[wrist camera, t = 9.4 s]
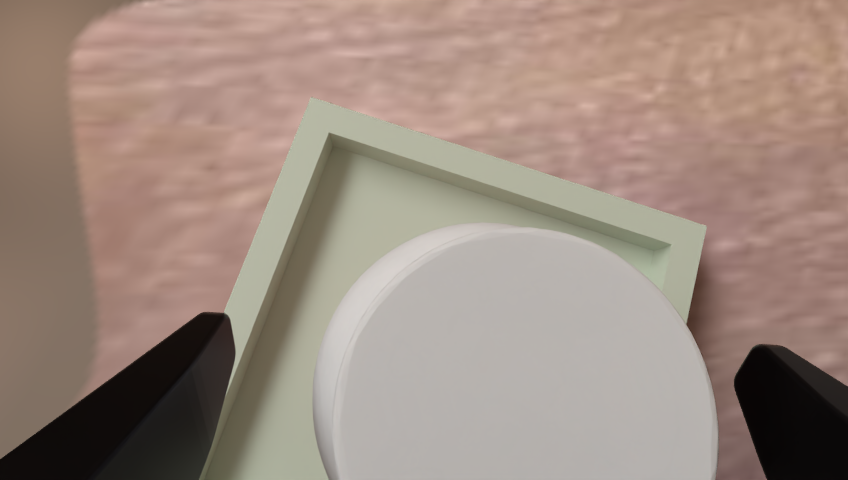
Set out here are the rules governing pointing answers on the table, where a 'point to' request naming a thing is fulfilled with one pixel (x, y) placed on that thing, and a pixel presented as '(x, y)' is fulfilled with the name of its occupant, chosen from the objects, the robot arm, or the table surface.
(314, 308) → the tray
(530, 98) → the table surface
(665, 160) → the table surface
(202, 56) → the table surface
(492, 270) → the pill bottle
